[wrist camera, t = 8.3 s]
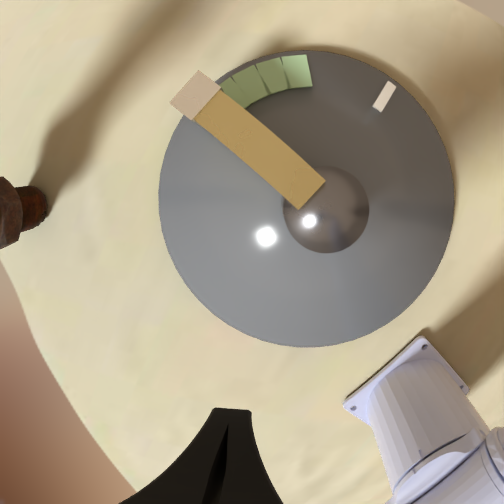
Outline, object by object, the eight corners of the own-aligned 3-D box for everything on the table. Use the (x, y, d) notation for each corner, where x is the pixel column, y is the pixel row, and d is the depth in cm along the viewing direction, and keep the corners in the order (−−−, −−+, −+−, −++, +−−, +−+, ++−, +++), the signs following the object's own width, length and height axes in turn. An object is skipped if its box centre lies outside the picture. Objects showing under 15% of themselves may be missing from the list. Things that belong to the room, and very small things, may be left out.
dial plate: (486, 202, 17) (496, 204, 16) (313, 382, 21) (315, 393, 20) (298, 7, 15) (299, -1, 14) (112, 215, 19) (103, 218, 18)
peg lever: (367, 202, 17) (388, 210, 13) (319, 254, 17) (329, 273, 14) (224, 75, 15) (213, 55, 12) (176, 129, 16) (155, 119, 13)
